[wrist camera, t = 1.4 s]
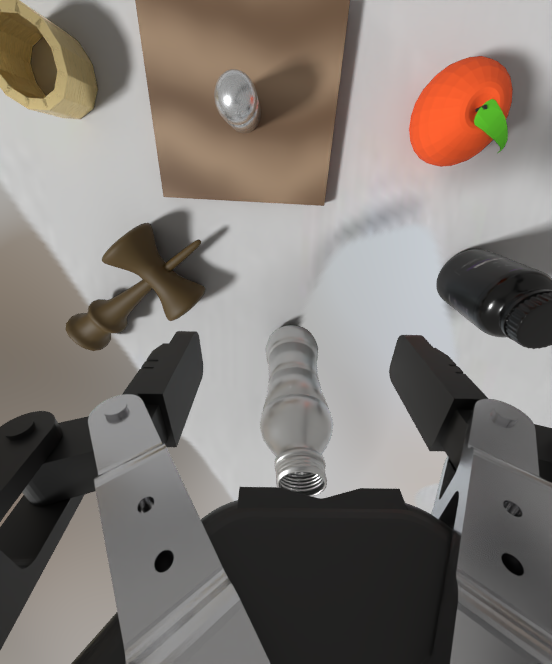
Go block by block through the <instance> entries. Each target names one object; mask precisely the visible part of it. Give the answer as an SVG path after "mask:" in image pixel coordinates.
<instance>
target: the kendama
mask: <svg viewBox="0 0 552 664" xmlns="http://www.w3.org/2000/svg"><path fill="white" fill-rule="evenodd" d="M200 244H201V241H200V240H196V241H194V242H193V243H191V244H190V245H189V246H187V247H186V248H185V249H183V250H182V251H181V252H179V253H178V254H177V255H175V256H174V257H173V258H171V259H170V260H169V261H168V262H166V263H165V261H164V260H163V259H162V258H161V256H160V255H159V253H158V250H157V247H156V243H155V239H154V234H153V230H152V227H151V225H150V224H149V223H144V224H141V225H139V226H137V227H135V228H134V229H132V230H130V231H129V232H128V233H126V234H125V235H124V236H122V237H121V238H120V239H119V240H118V241H116V242H115V243H114V244H113V245H112V246H111V247H110V248H109V249H108V250H107V252H106V253H105V254H104V256H103V257H102V261H103V262H104V263H105V264H108V265H111V266H114V267H118V268H121V269H125V270H128V271H131V272H133V273H135V274H137V275H139V276H140V277H141V278H142V279H143V280H142V281H140V282H139V283H137V284H136V285H134V286H133V287H131V288H129V289H128V290H126V291H124V292H123V293H121V294H119V295H117V296H116V297H114V298H112V299H110V300H100V299H98V300H96V301H93V302H92V303H91V304H90V306H89V308H88V313H81V314H77V315H75V316H72V317H71V318H70V319H69V321H68V322H67V323H66V331H67V333H68V335H69V337H70V338H71V339H72V340H73V341H74V342H75V343H76V344H78V345H79V346H81V347H83V348H85V349H88V350H92V351H95V350H101V349H103V348H104V347H106V346H107V345H108V343H109V342H110V340H111V333H119V332H121V331H123V330H124V329H125V328H126V326H127V316H128V315H129V314H130V312H131V311H132V310H133V309H134V308H135V306H136V305H137V304H138V303H139V302H140V301H141V300H142V299H143V298H144V297H145V296H146V295H147V294H148V293H149V291H150V290H152V289H154V291H155V292H156V293H157V295H158V296H159V298H160V301H161V303H162V306H163V309H164V312H165V315H166V317H167V319H168V320H169V321H172V320H175V319H178V318H179V317H181V316H182V315H184V314H185V313H186V312H188V311H189V310H190V309H191V308H192V307H193V306H194V305H195V304H196V303H197V302H198V301H199V300H200V299H201V297H202V296H203V295H204V292H205V287H204V286H202V285H200V284H198V283H195V282H193V281H190V280H188V279H185V278H183V277H181V276H180V275H178V274H177V273H175V272H174V271H173V269H174V268H175V267H177V266H178V265H179V264H180V263H181V262H182V261H183V260H184V259H186V258H187V257H188V256H189V255H190V254H191V253H192V252H193V251H194V250H196V249H197V248H198V247H199V245H200Z"/></svg>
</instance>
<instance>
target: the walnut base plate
mask: <svg viewBox="0 0 552 664" xmlns="http://www.w3.org/2000/svg"><path fill="white" fill-rule="evenodd" d="M135 2H136V9H137V16H138V23H139V29H140V36H141V43H142V50H143V57H144V64H145V71H146V78H147V85H148V92H149V99H150V106H151V112H152V119H153V126H154V133H155V140H156V147H157V154H158V161H159V168H160V175H161V182H162V189H163V196H164V197H175V198H193V199H211V200H229V201H248V202H266V203H284V204H303V205H321V206H324V202H325V194H326V186H327V178H328V170H329V162H330V154H331V147H332V139H333V131H334V123H335V115H336V107H337V99H338V91H339V83H340V75H341V68H342V60H343V52H344V44H345V36H346V28H347V20H348V12H349V4H350V0H135ZM230 69H237V70H240V71H242V72H244V73H245V74H247V75H248V76H249V78H250V79H251V80H252V82H253V84H254V86H255V89H256V93H257V97H258V100H259V104H260V109H261V117H260V121H259V124H258V125H257V127H256V128H255V129H254V130H253V131H252V132H250V133H239V132H237V131H236V130H234V129H233V128H232V127H231V126H230V125H229V124H228V123H227V122H226V121H225V120H224V119H223V117H222V116H221V115H220V113H219V111H218V109H217V107H216V104H215V98H214V91H215V85H216V82H217V80H218V78H219V77H220V76H221V74H223V73H224V72H225V71H227V70H230Z"/></svg>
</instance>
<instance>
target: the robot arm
mask: <svg viewBox="0 0 552 664" xmlns="http://www.w3.org/2000/svg"><path fill="white" fill-rule="evenodd" d="M389 373H390V379H391V382H392V384H393V386H394V387H395V389H396V391H397V393H398V395H399V396H400V398H401V400H402V402H403V403H404V405H405V407H406V409H407V411H408V413H409V414H410V416H411V418H412V420H413V422H414V423H415V425H416V427H417V428H418V431H419V432H420V434H421V436H422V438H423V440H424V441H425V443H426V445H427V447H428V449H429V451H445V452H446V454H447V455H448V457H447V458H446V460H445V463H444V466H443V471H442V475H441V479H440V483H439V487H438V491H437V495H436V499H435V503H434V507H433V510H432V513H431V514H429V513H427V512H426V511H424V510H422V509H420V508H417V507H415V506H412V505H410V504H406V503H405V502H404V500H403V497H402V494H401V492H400V489H364V488H360V489H356V490H353V491H349V492H346V493H342V494H338V495H335V496H331V497H328V498H323V499H319V498H315V497H311V496H308V495H304V494H300V493H297V492H293V491H290V490H286V489H283V488H276V487H240V489H239V497H238V500H237V501H234V502H230V503H228V504H226V505H223V506H221V507H219V508H217V509H216V510H214V511H212V512H211V513H209V514H208V515H206V516H205V517H204V518H202V519H201V520H200V518H199V515H198V513H197V511H196V509H195V507H194V505H193V503H192V500H191V498H190V496H189V494H188V492H187V490H186V488H185V485H184V483H183V481H182V479H181V477H180V475H179V473H178V470H177V468H176V466H175V464H174V462H173V460H172V458H171V455H170V453H169V451H168V449H167V447H177V445H178V442H179V439H180V436H181V434H182V431H183V428H184V426H185V423H186V420H187V417H188V415H189V412H190V409H191V406H192V404H193V401H194V398H195V396H196V393H197V390H198V387H199V385H200V382H201V379H202V375H203V360H202V354H201V347H200V340H199V335H198V333H197V332H187V331H178V332H176V334H175V335H174V337H173V338H172V340H171V341H170V343H169V344H162V345H161V346H159V347H158V348H156V349H155V350H153V351H152V353H151V354H150V356H149V357H148V358H147V361H145V363H144V364H143V365H142V367H141V369H140V370H139V371H138V373H137V374H136V375H135V377H134V379H133V380H132V381H131V383H130V384H129V385H128V387H127V388H126V390H125V391H124V393H123V394H122V395H118V396H115V397H112V398H109V399H107V400H105V401H103V402H102V403H100V404H99V405H98V406H97V407H96V408H94V410H93V411H92V412H91V413H90V415H89V416H88V417H84V418H80V419H75V420H71V421H66V422H61V423H58V422H57V421H56V419H55V417H54V415H53V414H51V413H50V412H46V411H37V412H31V413H28V414H24V415H21V416H19V417H17V418H14V419H12V420H10V421H9V422H7V423H5V424H4V425H2V426H1V427H0V522H1V520H2V519H3V517H4V516H5V514H6V513H7V512H8V510H9V509H10V508H11V506H12V505H13V504H14V502H15V501H16V500H17V498H18V497H19V496H20V494H21V493H23V494H24V495H23V497H22V498H21V500H20V501H19V502H18V504H17V505H16V506H15V508H14V509H13V511H12V512H11V513H10V515H9V516H8V517H7V519H6V520H5V521H4V523H3V524H2V526H1V527H0V650H1V648H2V646H3V644H4V642H5V640H6V639H7V637H8V635H9V633H10V631H11V630H12V628H13V626H14V624H15V622H16V620H17V618H18V616H19V615H20V613H21V611H22V609H23V607H24V606H25V604H26V602H27V600H28V598H29V596H30V594H31V592H32V591H33V589H34V587H35V585H36V583H37V581H38V580H39V578H40V576H41V574H42V572H43V570H44V568H45V567H46V565H47V563H48V561H49V559H50V557H51V555H52V554H53V552H54V550H55V548H56V546H57V544H58V543H59V541H60V539H61V537H62V535H63V533H64V531H65V530H66V528H67V526H68V524H69V522H70V520H71V518H72V517H73V515H74V513H75V511H76V509H77V507H78V506H79V504H80V502H81V500H82V498H83V496H84V494H87V493H90V492H94V491H96V496H97V501H98V507H99V512H100V517H101V523H102V529H103V534H104V540H105V545H106V551H107V556H108V561H109V567H110V573H111V577H112V584H113V589H114V594H115V600H116V606H117V611H118V612H117V613H116V614H115V615H114V616H113V617H112V618H111V620H110V621H109V622H108V623H107V624H106V625H105V627H103V629H102V630H101V631H100V632H99V633H98V634H97V635H96V637H95V638H94V639H93V640H92V641H91V642H90V643H89V644H88V646H87V647H86V648H85V649H84V650H83V651H82V652H81V653H80V655H79V656H78V657H77V658H76V659H75V660H74V661H73V662H72V664H552V428H548V427H544V426H540V425H535V424H533V422H532V421H531V419H530V418H529V417H528V416H527V415H526V414H524V413H523V412H522V411H520V410H519V409H517V408H515V407H514V406H511V405H509V404H507V403H505V402H502V401H498V400H494V399H488V398H487V397H486V396H485V395H484V393H483V392H482V391H481V390H480V389H479V388H478V387H477V386H476V385H475V384H474V383H473V382H472V381H471V380H470V379H469V378H468V377H467V375H466V374H463V371H462V370H461V369H460V368H459V367H458V366H456V364H455V363H454V362H453V361H452V360H451V359H450V357H449V356H448V355H446V354H444V353H443V352H441V351H439V350H438V349H436V348H433V347H432V346H431V345H430V344H429V342H427V340H426V339H425V338H424V337H423V336H421V335H401V336H399V338H398V340H397V343H396V347H395V350H394V354H393V357H392V361H391V365H390V370H389Z"/></svg>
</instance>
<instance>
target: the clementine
mask: <svg viewBox="0 0 552 664" xmlns="http://www.w3.org/2000/svg"><path fill="white" fill-rule="evenodd" d="M512 90H513V89H512V83H511V78H510V76H509V74H508V72H507V70H506V68H505V67H504V66H502V65H501V64H500V63H499V62H498V61H495V60H493V59H490V58H487V57H483V56H478V57H469V58H466V59H463V60H460V61H458V62H455V63H453V64H451V65H449V66H448V67H446V68H445V69H444V70H442V71H441V72H440V73H438V74H437V75H436V76H435V77H434V78H433V79H432V80H431V81H430V83H429V84H428V85H427V86H426V87H425V88H424V89H423V91H422V93H421V94H420V96H419V98H418V100H417V101H416V103H415V106H414V109H413V112H412V115H411V120H410V127H409V131H410V141H411V144H412V147H413V150H414V151H415V153H416V154H417V155H418V157H419V158H420V159H422V160H423V161H425V162H426V163H429V164H432V165H437V166H452V165H455V164H458V163H461V162H464V161H466V160H469V159H470V158H472V157H473V156H475V155H476V154H478V153H479V152H481V151H482V150H483V149H484V148H485V147H486V146H487V145H488V144H489V143H490V142H491V141H492V140H493V139H494V140H495V141H496V143H497V144H498V145H499V146H500V151H501V150H502V149H503V148H504V147H505V144H506V142H507V138H508V131H507V123H506V118H507V116H508V113H509V110H510V106H511V103H512ZM500 151H499V152H500ZM499 152H498V153H499Z"/></svg>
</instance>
